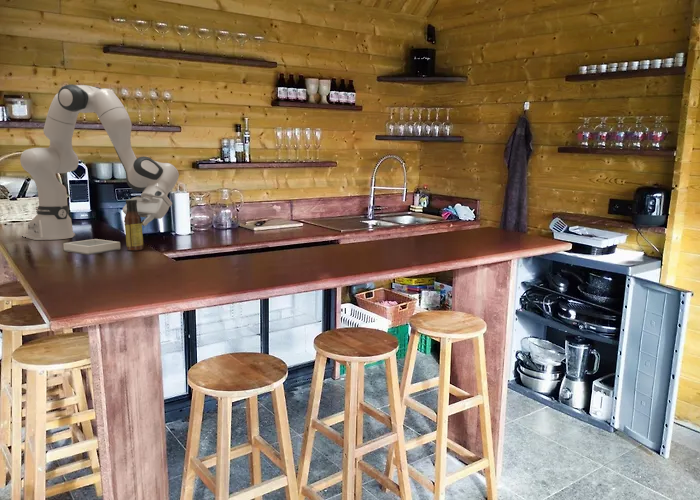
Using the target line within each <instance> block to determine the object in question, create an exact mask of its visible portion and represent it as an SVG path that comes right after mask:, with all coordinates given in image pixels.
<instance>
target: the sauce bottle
mask: <svg viewBox="0 0 700 500" xmlns="http://www.w3.org/2000/svg"><path fill="white" fill-rule="evenodd" d="M126 204H127V213H126V214H124V220H125V222H124V229H125V230H124V232H125V233H124V234H125V243H126V244H125V245H126V248H127V251H131V252H133V251H134V252H135V251H142V250H143V249H144V236H143V225H142V224H141V222H142V217H140V216H139V214H138V211H137V200H136V199H132V198H130V199H126V200H125V205H126Z"/></svg>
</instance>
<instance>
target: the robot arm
mask: <svg viewBox="0 0 700 500" xmlns="http://www.w3.org/2000/svg"><path fill="white" fill-rule="evenodd" d="M80 113H82V114H89V113H94V114H96V115H97V118H98V119H99V121H100V123H101V125H102V127H103V129H104V130H105V132H106V133H107V135H108V138H109V139H110V142H111V144H112V146H113V147H114V150H115V152H116V155H117V156H118V158H119V160H120V163H121V164H122V165H121V166H122V167H123V169H124V171H125V180H126V184H127V185H128V187H129V188H130V189H132V190H133V191H135V192H142V193H141V194H140V196H139V195H138V196H137V195H136V196H135V197H131V199H136V200H137V211H138V214H139V216H140V218H145V219H141V224H142V227H146V226H148V224H149V223H151V222H152V221H153V220H155V219H158V220H159V219H162V218H164V217H165V215H166V214H167V212H168V211H169V209H170V207H171V206H172V205H173V202H172V201H171V200H170V198H169V197H168V195H169V193H171V191H172V190H173V189H174V188H175V186H176V185H177V183H178V180H179V178H180V174H179V171H178V169H177V168H176V167H175V165H173V164H172V163H170V162H160V161H157V160H154V159H153V158H151V157H148V156H139V157H136V155H135V152H134V150H133V148H132V144H131V143H132V142H131V137H132V135H131V134H132V127H133V125H132V121H131V117H130V115H129V113H128V111H127V109H126V108H125V105H124V104H123V103H122V101H121V100H120V98H119V97H118V96H117V94H116V93H115V92H114V91H113V90H112V89H110V88H101V87H98V86H91V85H86V84H66V85H64V86H63V85H62V86H61V87H60V89H59V90H58V92H57V93H56V94H55V95H54V97H53V98H52V100H51V103H50V105H49V109H48V111H47V115H46V118H45V122H44V126H43V130H42V131H43V134H44V136H45V137H46V138H47V139H48V140H49V146H48V147H31V148H28V149H25V150H24V151H23V152H22V153H21V155H20V158H19V160H20V162H19V163H20V165H21V167H22V169H23V170H24V171H25V172H27V173H28V174H29V175H30V176H31V178H32V180H33V181H34V183H35V186H36V190H37V196H38V197H37V198H38V206H37V207H35V210H36V215H35V216H34V217H33V218H32V219H31V220H30V221H29V222H28V224H27V233H25V234H24V233H23V234H21V237H22V236H23V237H22V238H25V237H26V238H25V239H29V240H34V241H43V240H45V241H50V240H51V241H53V240H55V241H56V240H64V239H71V238H74V237H76V233H75V232H74V228H73V223H72V218H71V217H70V215H69V213H70V208H69V205H68V196H67V195H68V194H67V193H68V191H67V188H66V186H65V185H64V184H62V183H61V182H60V181H59V179H58V178H57V174H67V173H71V172H74V171H76V170H77V168H78V167H79V162H80V161H79V157H78V154H77V153H76V152H75V151H74V149H73V148H74V147H73V136H74V133H75V132H74V131H75V127H76V124H77V120H78V116H79V114H80ZM122 212H123V213H124V215H126V213H127V204H126V203H125V204H124V206H123V207H122ZM124 223H125V219H124Z"/></svg>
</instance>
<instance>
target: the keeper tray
mask: <svg viewBox="0 0 700 500" xmlns="http://www.w3.org/2000/svg"><path fill="white" fill-rule="evenodd" d="M62 245H63V251H64V252H69V253H75V254H81V255H89V256H90V255H94V254H101V253H108V252H115V251H120V250H121V241H115V240H114V241H113V240H107V239H106V240H105V239H100V238H99V239H98V238H94V239H93V238H92V239H85V240H77V241H69V242H64V243H62Z"/></svg>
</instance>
